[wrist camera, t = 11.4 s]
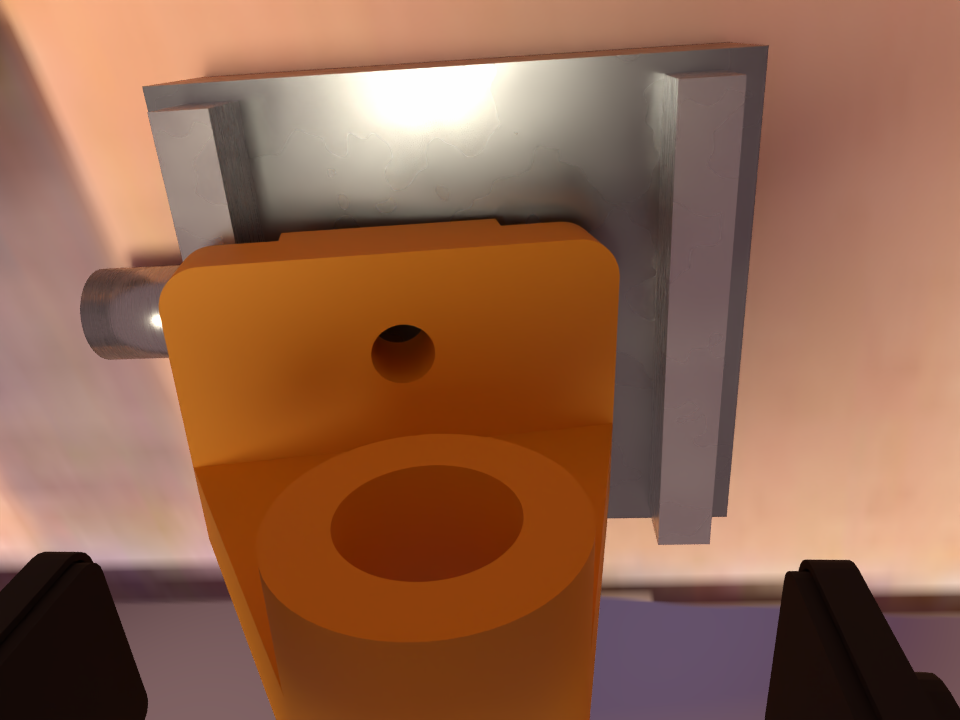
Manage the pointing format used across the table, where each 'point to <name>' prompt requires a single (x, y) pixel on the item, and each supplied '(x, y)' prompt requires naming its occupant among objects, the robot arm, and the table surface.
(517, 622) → the bracket
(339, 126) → the block
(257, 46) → the table surface
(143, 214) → the table surface
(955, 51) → the table surface
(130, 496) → the table surface
